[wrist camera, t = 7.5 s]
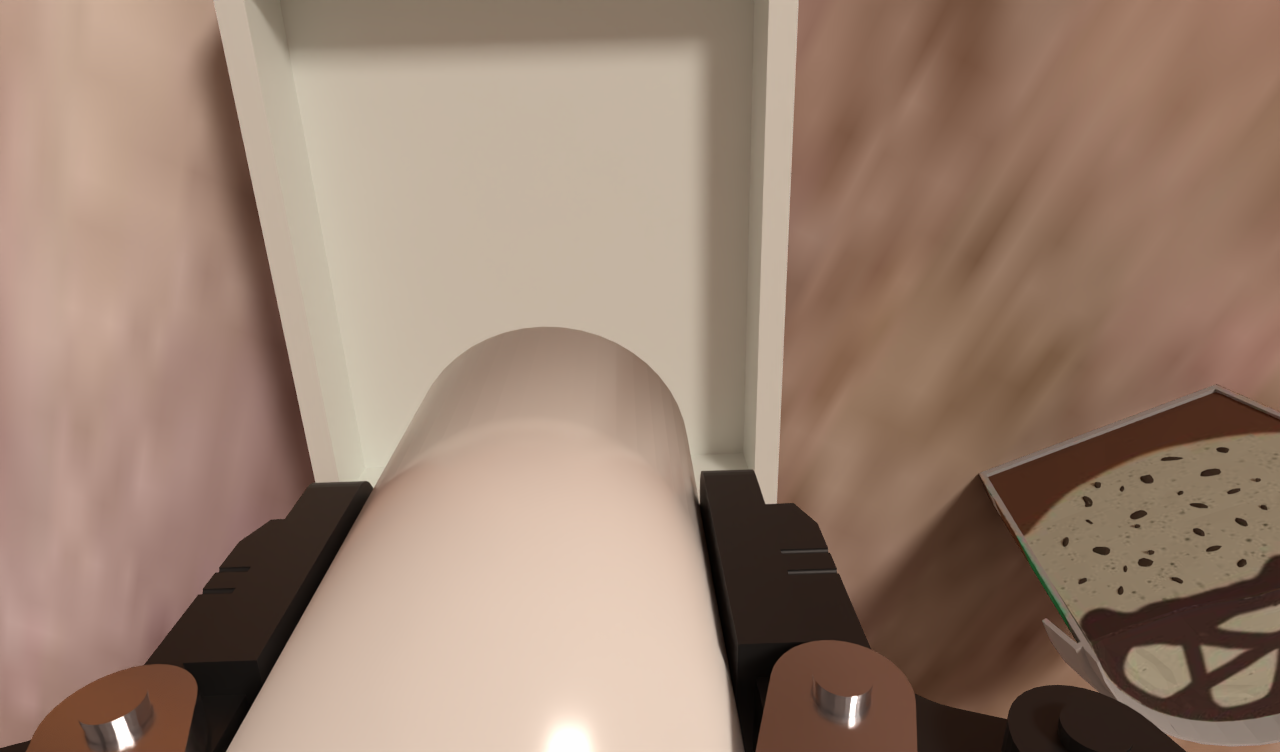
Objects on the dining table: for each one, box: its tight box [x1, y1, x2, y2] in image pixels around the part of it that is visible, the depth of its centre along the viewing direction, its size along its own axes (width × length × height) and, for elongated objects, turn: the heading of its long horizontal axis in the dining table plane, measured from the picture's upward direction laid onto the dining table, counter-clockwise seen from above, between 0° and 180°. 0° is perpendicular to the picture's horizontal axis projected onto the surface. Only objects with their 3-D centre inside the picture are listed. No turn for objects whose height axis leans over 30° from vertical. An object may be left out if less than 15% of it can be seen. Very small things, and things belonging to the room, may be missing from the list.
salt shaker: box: [226, 327, 745, 752], centre depth 9 cm, size 5×5×10 cm
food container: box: [979, 384, 1280, 746], centre depth 27 cm, size 12×6×10 cm, turn 114°
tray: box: [213, 0, 799, 504], centre depth 26 cm, size 16×18×4 cm
